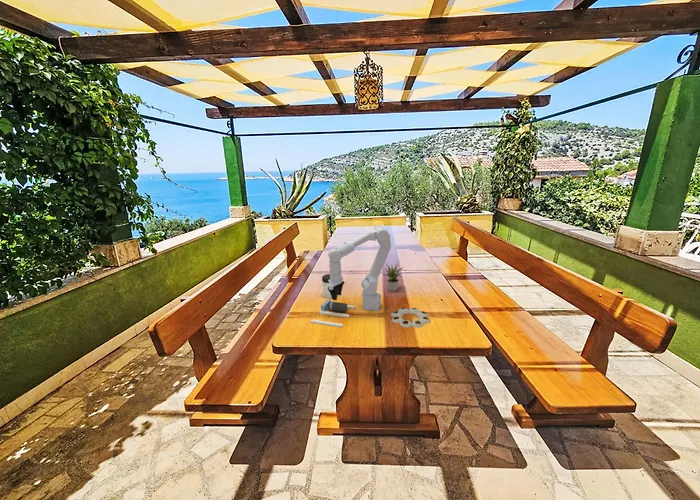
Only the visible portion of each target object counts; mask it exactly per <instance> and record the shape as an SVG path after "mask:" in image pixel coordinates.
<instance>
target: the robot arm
mask: <svg viewBox="0 0 700 500" xmlns="http://www.w3.org/2000/svg"><path fill="white" fill-rule="evenodd" d="M368 241H374V242H376V241H377V242H378V245H379V248H378V251H377V253H376V255H375V257H374V261H373V262H372V266H371V268H370V269H369V273H368V274H366V276H365V278H364V279H363V280H361V287H362V288H363V290H362V292H361V293H362V294H361V297H362V299H361V300H362V309H363V310H364V311H365V310H366V311H376V312H378V311H379V310H380V308H381V307H382V303H381V302H382V296H381V293H378V286H379V277H380V274H381V273H382V270H383V267H384V265H385V262H386V260H387V258H388V256H389V253H390V250H391V248H392V242H391V234H390V233H389V232H388V230H387V229H385V228H384V227H382V226H381V225H376V226H374V227H372V228H370V229H369V230H367V231H365V232H364V233H362V234H361V235H360V236H359V237H357V238H355V239H353V240H352V241H349V240H348V241H346V240H345V241H343V243H342V244H340V245H339V246H335V247H334V248H331V249H330V250H328V254H327V256H328V258H329V274H330V280H328V282H330V285H329V287H328V290H329V292H330V294H331V297H332V298H331V299H332V300H333V301H337V300H338V296H341V295H342V292H343V287H344V284H345V281H344V276H343V275H342V264H341V260H342V258H344V257H345V256H347V255H349V254H351V253H353V252H354V251H355V248H357V247H358V246H360V245H362V244H364V243H366V242H368Z"/></svg>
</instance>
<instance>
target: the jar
mask: <svg viewBox="0 0 700 500" xmlns="http://www.w3.org/2000/svg"><path fill="white" fill-rule="evenodd" d="M321 280H322V281H321V283H322V284H321V285H322V286H321V287H322V297H323V298H326V299H332V297H331V294H330V292H329V290H328V287H329V285H330V282H328V280H330V273H327V274H324V275H322V276H321Z"/></svg>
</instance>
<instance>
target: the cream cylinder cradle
mask: <svg viewBox="0 0 700 500" xmlns="http://www.w3.org/2000/svg"><path fill="white" fill-rule="evenodd" d="M330 301H331V299H329V298H326V300H325V301H324V302H323V303H322V304H321V305H320V310H319V311H318V314H319V315H326V316H333V317H334V316H335V317H340V318H346V319H347V318H350V314H349V313H343V312H342V313H341V312H335V311H328V310H329V309H328V304H329V302H330ZM347 309H351V310H355V309H356V305H350V304H347ZM310 323H311V324H316V325H323V326H328V327H329V326H330V327H337V328H340V329H341V328H343V326H344V325H343V323H337V322H333V321H332V322H331V321H325V320H317V319H311V320H310Z"/></svg>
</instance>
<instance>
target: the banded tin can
mask: <svg viewBox="0 0 700 500" xmlns="http://www.w3.org/2000/svg"><path fill="white" fill-rule="evenodd" d="M347 305H348V303H344V302H338V301H334V300H333V301H330V302H329V304H328V310H329V311H333V312H335V311H336V312H340V313H341V312H342V313H346V312H347V311H348V308H347Z"/></svg>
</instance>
